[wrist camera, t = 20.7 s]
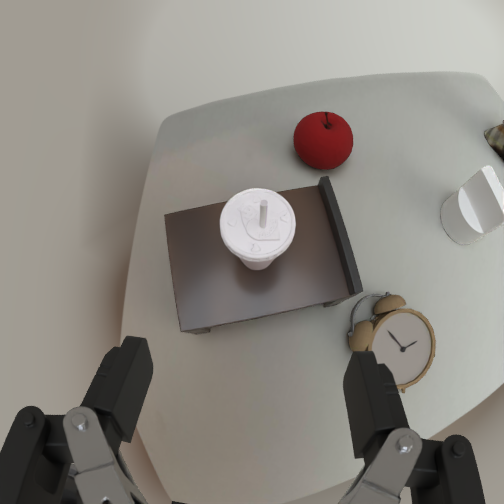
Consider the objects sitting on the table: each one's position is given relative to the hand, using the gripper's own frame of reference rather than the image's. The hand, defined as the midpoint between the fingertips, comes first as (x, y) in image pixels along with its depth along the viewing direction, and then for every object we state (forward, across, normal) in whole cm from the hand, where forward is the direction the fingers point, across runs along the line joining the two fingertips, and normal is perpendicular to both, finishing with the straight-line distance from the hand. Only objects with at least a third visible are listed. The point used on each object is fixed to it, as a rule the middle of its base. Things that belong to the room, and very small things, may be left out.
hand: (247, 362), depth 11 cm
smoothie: (+23, 0, +8) cm, 24 cm away
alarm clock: (+23, -19, +21) cm, 36 cm away
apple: (+44, -9, 0) cm, 44 cm away
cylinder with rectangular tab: (+37, -36, +7) cm, 52 cm away
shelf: (+29, 0, +14) cm, 32 cm away
